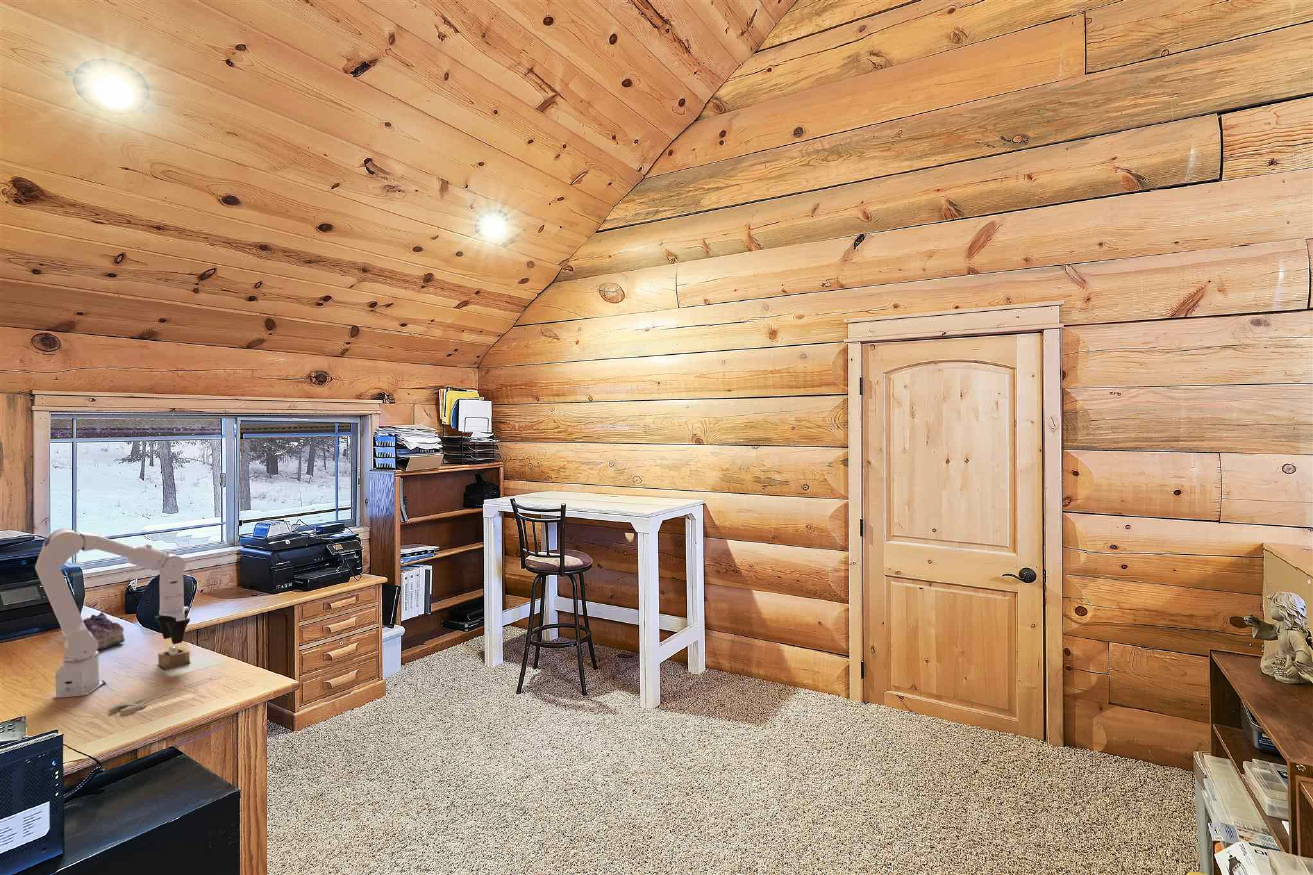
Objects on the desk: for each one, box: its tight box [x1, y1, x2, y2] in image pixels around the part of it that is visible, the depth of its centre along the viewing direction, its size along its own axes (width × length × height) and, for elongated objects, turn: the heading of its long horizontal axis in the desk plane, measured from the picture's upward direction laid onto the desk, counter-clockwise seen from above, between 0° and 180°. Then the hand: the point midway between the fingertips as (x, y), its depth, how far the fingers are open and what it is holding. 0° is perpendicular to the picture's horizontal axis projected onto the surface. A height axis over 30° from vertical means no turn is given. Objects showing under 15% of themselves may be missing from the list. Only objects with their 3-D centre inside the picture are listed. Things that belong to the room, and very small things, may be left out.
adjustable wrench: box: [108, 675, 222, 716], centre depth 173 cm, size 25×6×2 cm, turn 146°
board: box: [153, 654, 219, 678], centre depth 193 cm, size 14×12×1 cm
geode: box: [82, 612, 125, 651], centre depth 214 cm, size 20×12×10 cm, turn 53°
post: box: [155, 645, 191, 670], centre depth 194 cm, size 7×7×5 cm
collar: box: [157, 647, 191, 669], centre depth 194 cm, size 6×6×3 cm
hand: (172, 640), depth 193 cm, fingers open, 7 cm apart
